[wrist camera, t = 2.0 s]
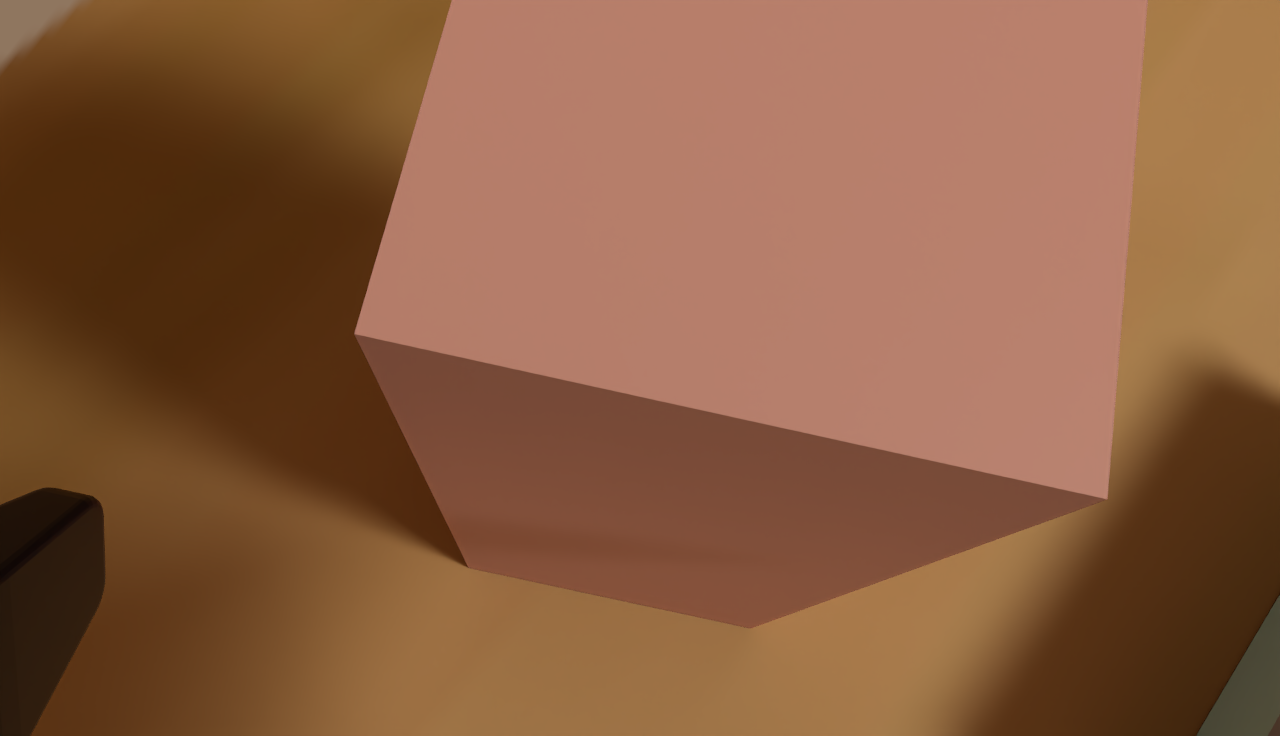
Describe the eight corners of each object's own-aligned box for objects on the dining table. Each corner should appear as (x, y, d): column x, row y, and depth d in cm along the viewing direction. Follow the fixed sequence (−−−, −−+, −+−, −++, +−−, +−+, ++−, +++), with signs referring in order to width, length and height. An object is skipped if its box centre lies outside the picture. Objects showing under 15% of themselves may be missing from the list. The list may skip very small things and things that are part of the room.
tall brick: (750, 628, 20) (1108, 499, 7) (468, 567, 20) (354, 333, 7) (796, 359, 21) (1157, -121, 9) (534, 301, 21) (530, -269, 9)
